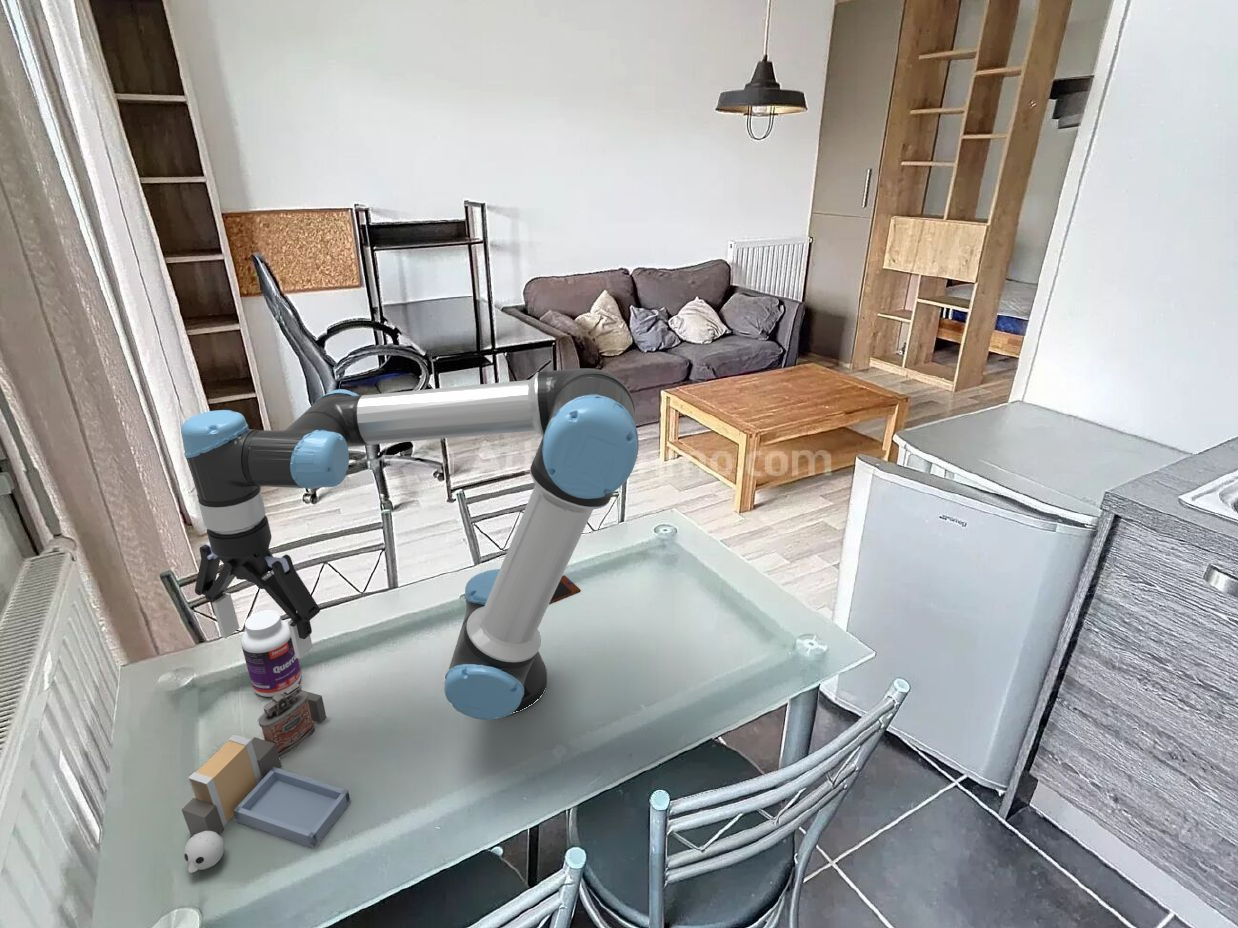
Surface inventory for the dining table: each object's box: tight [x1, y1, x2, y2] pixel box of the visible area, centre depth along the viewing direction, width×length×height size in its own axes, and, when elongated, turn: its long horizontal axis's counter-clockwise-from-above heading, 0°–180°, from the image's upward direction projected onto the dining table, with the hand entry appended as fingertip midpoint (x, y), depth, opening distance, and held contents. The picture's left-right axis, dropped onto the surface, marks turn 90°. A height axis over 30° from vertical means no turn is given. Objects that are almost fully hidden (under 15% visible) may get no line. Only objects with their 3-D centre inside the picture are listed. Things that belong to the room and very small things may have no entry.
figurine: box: [183, 831, 225, 873], centre depth 92 cm, size 5×5×5 cm
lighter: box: [257, 683, 316, 759], centre depth 109 cm, size 8×3×10 cm, turn 148°
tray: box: [234, 767, 351, 849], centre depth 100 cm, size 13×8×2 cm, turn 73°
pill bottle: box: [240, 609, 302, 698], centre depth 120 cm, size 8×8×14 cm
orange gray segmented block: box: [181, 689, 327, 836], centre depth 104 cm, size 4×24×9 cm, turn 163°
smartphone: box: [548, 575, 582, 606], centre depth 149 cm, size 7×1×15 cm
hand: (267, 642), depth 103 cm, fingers open, 13 cm apart
